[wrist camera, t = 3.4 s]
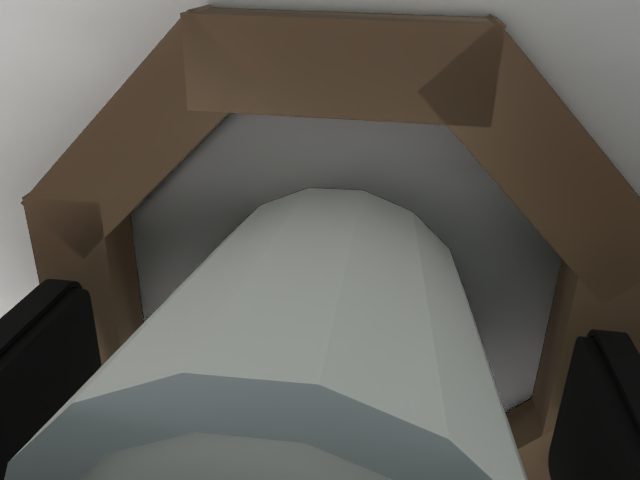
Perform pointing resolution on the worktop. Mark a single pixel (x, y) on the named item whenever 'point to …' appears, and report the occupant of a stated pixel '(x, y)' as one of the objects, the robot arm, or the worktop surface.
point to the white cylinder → (295, 363)
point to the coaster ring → (356, 104)
